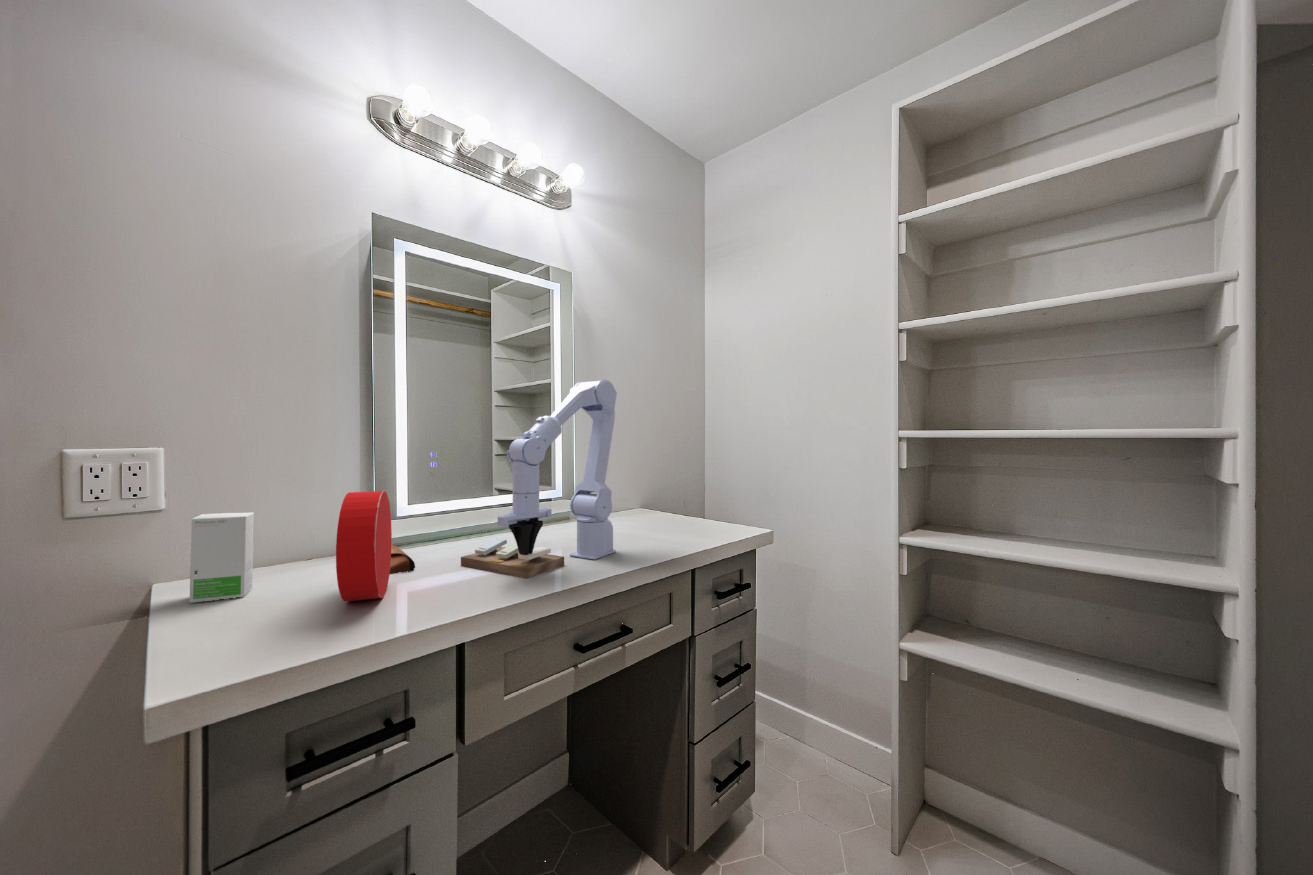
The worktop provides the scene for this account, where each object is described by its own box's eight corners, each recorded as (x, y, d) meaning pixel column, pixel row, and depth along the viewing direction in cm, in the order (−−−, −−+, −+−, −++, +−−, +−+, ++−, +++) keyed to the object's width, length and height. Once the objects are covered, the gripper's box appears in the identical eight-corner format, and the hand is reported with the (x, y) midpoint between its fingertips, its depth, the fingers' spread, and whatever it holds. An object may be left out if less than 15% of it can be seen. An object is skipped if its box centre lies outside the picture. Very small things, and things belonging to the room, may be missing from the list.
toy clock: (359, 584, 103) (359, 486, 103) (391, 581, 105) (391, 485, 105) (336, 617, 85) (335, 499, 84) (375, 613, 87) (374, 497, 87)
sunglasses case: (357, 560, 122) (373, 535, 124) (385, 571, 126) (400, 546, 128) (373, 577, 108) (390, 548, 110) (404, 588, 112) (420, 560, 114)
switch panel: (500, 554, 128) (500, 543, 128) (564, 565, 118) (564, 552, 118) (460, 565, 118) (460, 553, 118) (527, 578, 107) (527, 564, 107)
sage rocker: (518, 544, 121) (517, 540, 121) (528, 546, 120) (527, 542, 120) (496, 557, 115) (495, 552, 115) (506, 558, 114) (505, 554, 114)
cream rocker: (540, 550, 118) (540, 546, 118) (550, 552, 116) (550, 547, 116) (518, 558, 112) (518, 553, 112) (529, 559, 110) (528, 555, 110)
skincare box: (188, 604, 91) (187, 518, 91) (200, 594, 97) (199, 513, 97) (246, 597, 95) (245, 515, 95) (255, 587, 101) (254, 510, 101)
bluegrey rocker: (497, 541, 125) (497, 537, 125) (507, 543, 123) (506, 539, 123) (475, 553, 119) (474, 549, 119) (484, 555, 117) (484, 550, 117)
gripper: (535, 488, 120) (535, 545, 120) (487, 494, 107) (487, 558, 107) (558, 490, 116) (558, 549, 116) (511, 496, 104) (511, 562, 104)
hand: (525, 553), depth 112 cm, fingers closed
